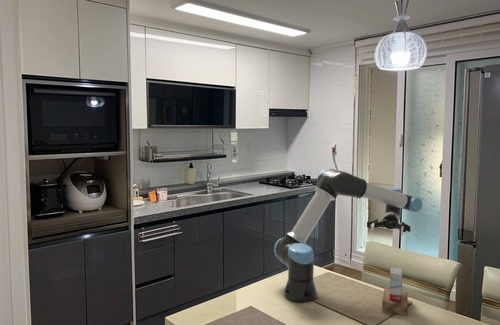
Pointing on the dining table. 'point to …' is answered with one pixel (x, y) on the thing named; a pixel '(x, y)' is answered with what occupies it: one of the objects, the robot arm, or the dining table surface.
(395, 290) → the ink box
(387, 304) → the walnut block
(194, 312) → the dining table surface
